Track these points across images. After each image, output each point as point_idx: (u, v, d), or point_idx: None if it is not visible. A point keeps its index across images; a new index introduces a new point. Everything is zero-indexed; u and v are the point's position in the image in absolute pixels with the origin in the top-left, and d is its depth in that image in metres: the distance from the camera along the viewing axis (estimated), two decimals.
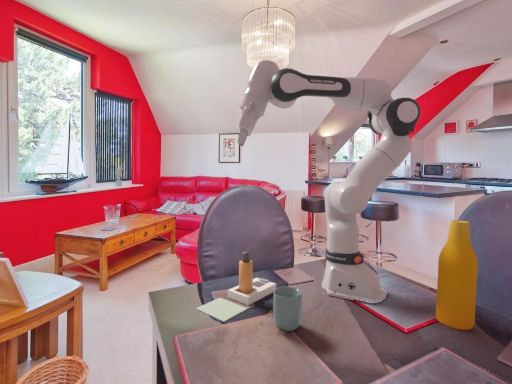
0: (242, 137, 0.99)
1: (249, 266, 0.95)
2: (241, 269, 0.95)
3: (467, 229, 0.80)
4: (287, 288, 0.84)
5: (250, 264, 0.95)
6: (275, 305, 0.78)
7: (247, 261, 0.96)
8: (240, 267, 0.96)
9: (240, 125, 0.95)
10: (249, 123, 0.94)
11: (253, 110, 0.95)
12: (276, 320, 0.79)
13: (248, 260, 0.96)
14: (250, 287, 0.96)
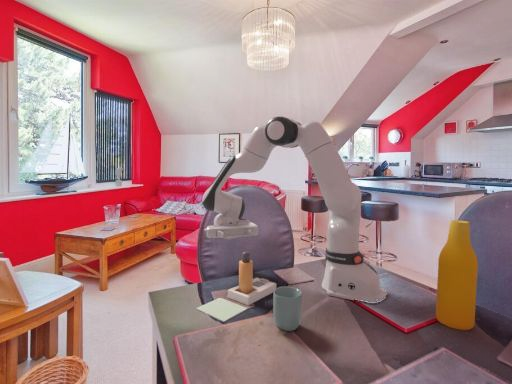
0: (220, 233, 1.08)
1: (249, 266, 0.95)
2: (241, 269, 0.95)
3: (467, 229, 0.80)
4: (287, 288, 0.84)
5: (250, 264, 0.95)
6: (275, 305, 0.78)
7: (247, 261, 0.96)
8: (240, 267, 0.96)
9: (208, 236, 1.10)
10: (206, 229, 1.11)
11: None
12: (276, 320, 0.79)
13: (248, 260, 0.96)
14: (250, 287, 0.96)
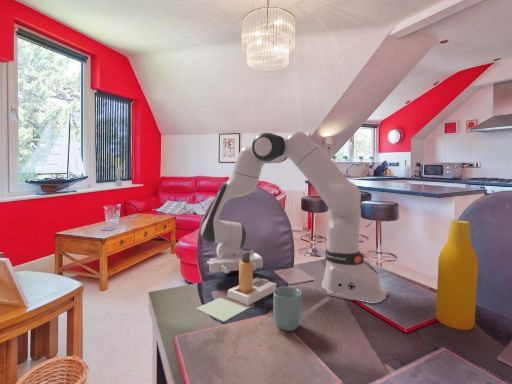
0: (223, 268, 1.04)
1: (249, 266, 0.95)
2: (241, 269, 0.95)
3: (467, 229, 0.80)
4: (287, 288, 0.84)
5: (250, 264, 0.95)
6: (275, 305, 0.78)
7: (247, 261, 0.96)
8: (240, 267, 0.96)
9: (211, 271, 1.06)
10: (209, 263, 1.07)
11: None
12: (276, 320, 0.79)
13: (248, 260, 0.96)
14: (250, 287, 0.96)
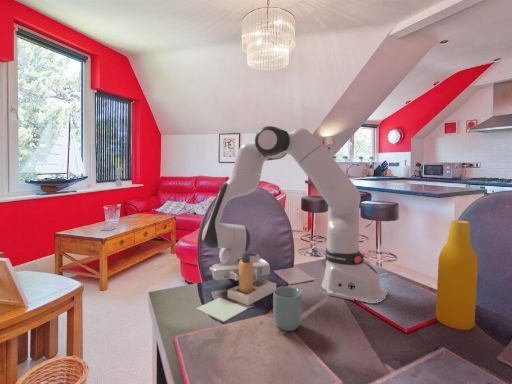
0: (233, 275, 0.97)
1: (249, 266, 0.95)
2: (241, 269, 0.95)
3: (467, 229, 0.80)
4: (287, 288, 0.84)
5: (250, 264, 0.95)
6: (275, 305, 0.78)
7: (247, 261, 0.96)
8: (240, 267, 0.96)
9: (214, 278, 0.98)
10: (212, 270, 1.00)
11: None
12: (276, 320, 0.79)
13: (248, 260, 0.96)
14: (250, 287, 0.96)
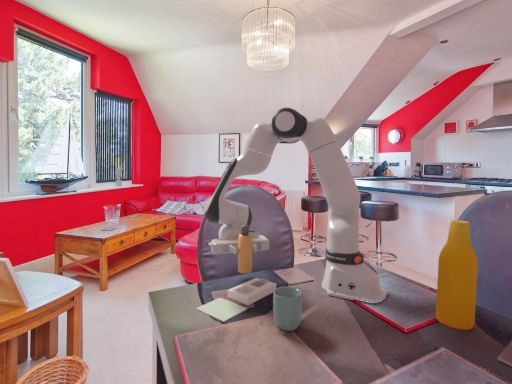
0: (232, 248, 0.96)
1: (248, 239, 0.94)
2: (240, 242, 0.94)
3: (467, 229, 0.80)
4: (287, 288, 0.84)
5: (249, 237, 0.94)
6: (275, 305, 0.78)
7: (246, 234, 0.95)
8: (239, 240, 0.95)
9: (213, 252, 0.98)
10: (211, 244, 0.99)
11: None
12: (276, 320, 0.79)
13: (247, 233, 0.95)
14: (249, 260, 0.95)
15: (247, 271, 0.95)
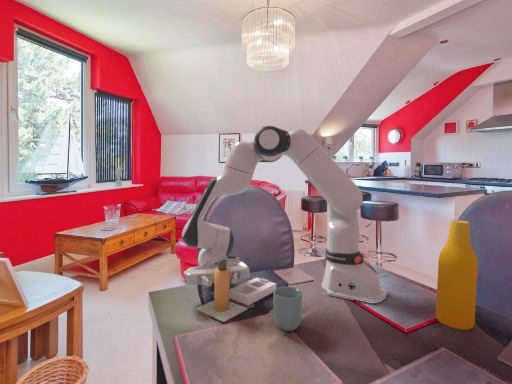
0: (205, 280, 0.88)
1: (225, 274, 0.87)
2: (216, 277, 0.87)
3: (467, 229, 0.80)
4: (287, 288, 0.84)
5: (226, 272, 0.87)
6: (275, 305, 0.78)
7: (223, 269, 0.87)
8: (215, 275, 0.87)
9: (187, 284, 0.90)
10: (186, 274, 0.91)
11: None
12: (276, 320, 0.79)
13: (224, 268, 0.88)
14: (226, 297, 0.87)
15: (224, 309, 0.87)
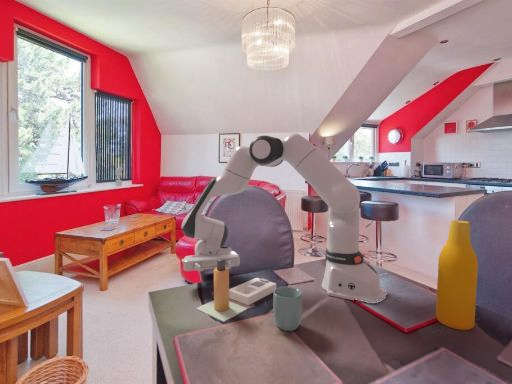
0: (197, 266, 1.00)
1: (224, 274, 0.87)
2: (216, 278, 0.87)
3: (467, 229, 0.80)
4: (287, 288, 0.84)
5: (225, 272, 0.87)
6: (275, 305, 0.78)
7: (222, 269, 0.87)
8: (214, 275, 0.87)
9: (184, 269, 1.02)
10: (183, 261, 1.03)
11: None
12: (276, 320, 0.79)
13: (223, 268, 0.87)
14: (226, 297, 0.87)
15: (224, 309, 0.87)
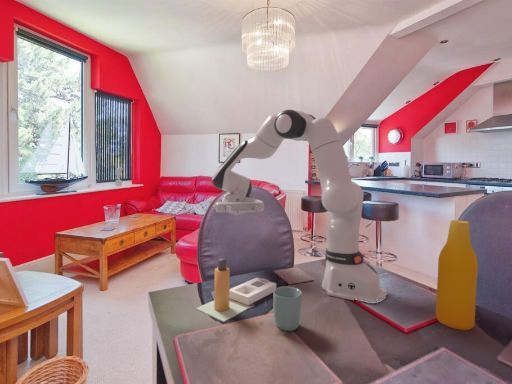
0: (228, 207, 1.15)
1: (225, 274, 0.87)
2: (216, 278, 0.87)
3: (467, 229, 0.80)
4: (287, 288, 0.84)
5: (226, 272, 0.87)
6: (275, 305, 0.78)
7: (223, 269, 0.87)
8: (215, 275, 0.87)
9: (217, 211, 1.17)
10: (215, 204, 1.18)
11: None
12: (276, 320, 0.79)
13: (224, 268, 0.88)
14: (226, 297, 0.87)
15: (224, 309, 0.87)
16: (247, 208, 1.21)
